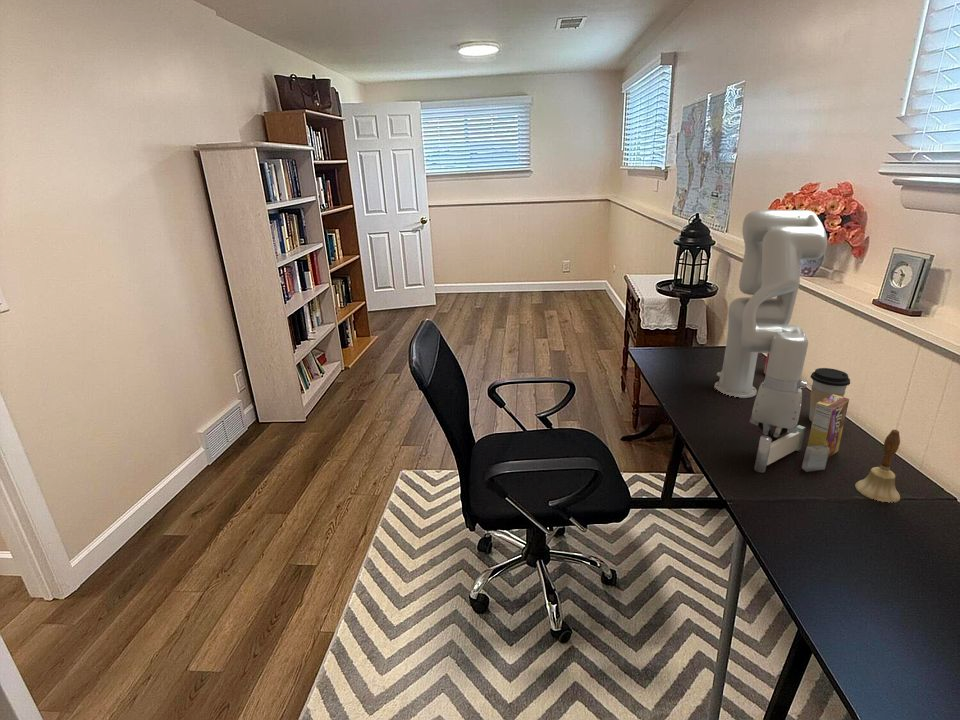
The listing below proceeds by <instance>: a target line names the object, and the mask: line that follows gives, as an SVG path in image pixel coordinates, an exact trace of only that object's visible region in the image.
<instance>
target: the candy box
mask: <svg viewBox="0 0 960 720" xmlns="http://www.w3.org/2000/svg"><path fill="white" fill-rule="evenodd" d="M849 403H850V399H849V398H847V397H845V396H843V397H841V396H838V395H834V394H832V395H831V396H829V397H827V398H825V399H823V400H821V401H819V402H818V403H816V406H815V411H814V416H813V421H811V426H810V432H809V437H808V441H807V446H806V447H811V446H820V445H826V446H827V447H829V448H830V450H829V454H828V458H827V459H829V458H831V457H832V456H833V455H836V454H837V453H838V452H839V448H840V444H841V439H842V433H843V431H844V425H845V420H846V416H847V411H848V407H849Z"/></svg>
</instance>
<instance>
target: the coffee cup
mask: <svg viewBox="0 0 960 720" xmlns="http://www.w3.org/2000/svg"><path fill="white" fill-rule="evenodd" d="M810 378H811V380H812V384H811V389H810V390H811V391H810V397H809V400H810V401H809V404H810V406H809V416H808V419H809V421H810V422H812V421H813V416H814V411H815V406H816V403H818V402H819V401H821V400H823V399H825V398H827V397H829V396H831V395H832V394H834V395H838V396H841V397H845V394H846V389H847V386H849V385H850V384H851V379H850V378H849V374H848V373H846V372H845V371H842V370H839V369H835V368H828V367H820V368H819V367H818V368H816V369H815V370H814V371H813V372H812V373H811V374H810Z"/></svg>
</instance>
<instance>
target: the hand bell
mask: <svg viewBox="0 0 960 720" xmlns="http://www.w3.org/2000/svg"><path fill="white" fill-rule="evenodd" d="M900 444H901V437H900V431H899V430H897V429H891V431H890V432H889V433H888V435H887V436H886V438H885V439H884V442H883V457H882V460H881V462H880V466H875V467H872V468H871V469H870V471H869V473H868V474H867V476H866V477H865V478H864V479H860V480H858V481H857V482H856V483H855V485H854V488H855V489H856V491H858V493H860V494H861V495H862V496H864V497H866V498H868V499H870V500H873V499H874V500H873V501H876V500H877V501H876V502H879V501H881V502H880V503H884V502H888V503H889V504H895V503H898V502H899V501H900V500H901V496H900V492H898V490H897V489H896V474H895V473H894V472H893V471H892V470H890V469H891V466H892V465H891V464H892V460H893V457H894V456H895V454H896V453H897V451H898V449H899V447H900ZM890 502H891V503H890ZM893 502H894V503H893ZM888 503H887V504H888Z"/></svg>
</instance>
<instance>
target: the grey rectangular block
mask: <svg viewBox="0 0 960 720" xmlns="http://www.w3.org/2000/svg"><path fill="white" fill-rule="evenodd" d="M829 450H830V448H829V447H827V446H826V445H820V446H811V447H807V446H806V447H805V451H804V452H805V453H804V455H803V456H804V457H803V460H802V464H801V469H802V470H803V471H804V472H816V471H823V470H824V471H825V469H826V466H827V462H828V459H829V458H828V454H829Z"/></svg>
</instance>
